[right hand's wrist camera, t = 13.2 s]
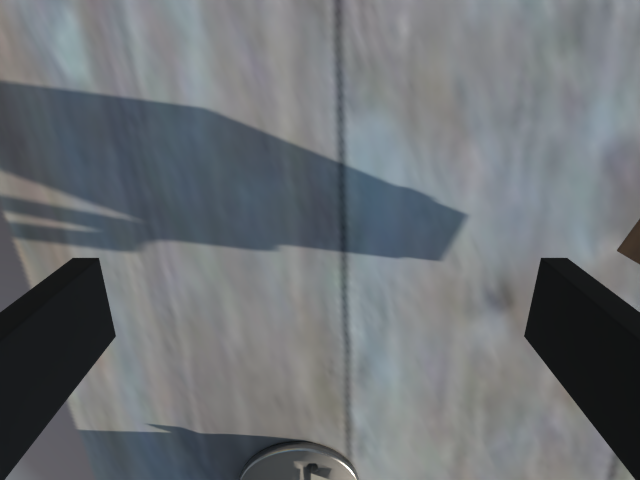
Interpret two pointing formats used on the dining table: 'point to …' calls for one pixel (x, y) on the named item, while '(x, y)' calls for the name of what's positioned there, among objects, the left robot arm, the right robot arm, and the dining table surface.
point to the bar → (632, 244)
